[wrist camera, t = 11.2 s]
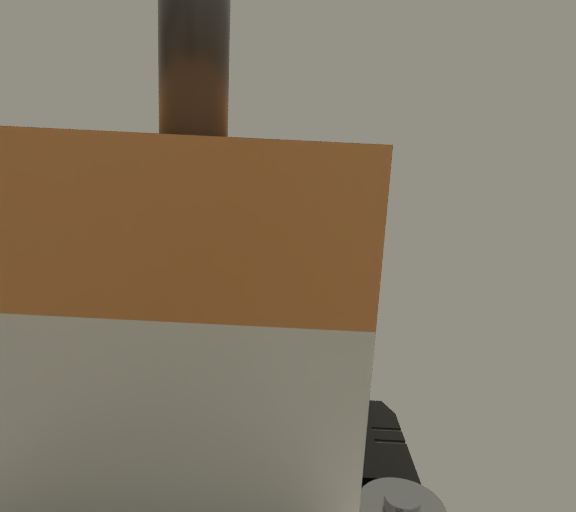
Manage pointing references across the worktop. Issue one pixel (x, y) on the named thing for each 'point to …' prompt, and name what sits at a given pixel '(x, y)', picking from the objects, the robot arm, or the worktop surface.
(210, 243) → the plug
